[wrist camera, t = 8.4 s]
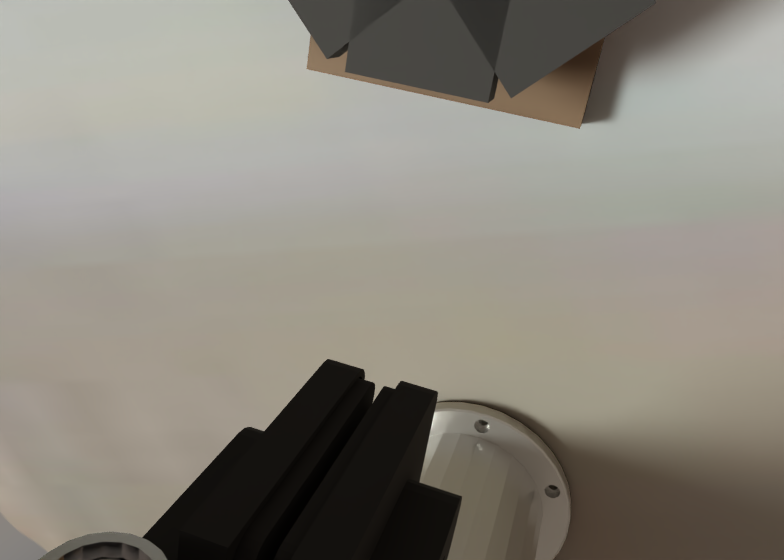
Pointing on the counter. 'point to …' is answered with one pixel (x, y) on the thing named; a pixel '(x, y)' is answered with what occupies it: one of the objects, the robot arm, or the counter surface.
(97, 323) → the counter surface
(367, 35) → the grey petal ring
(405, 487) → the robot arm
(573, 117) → the base board
